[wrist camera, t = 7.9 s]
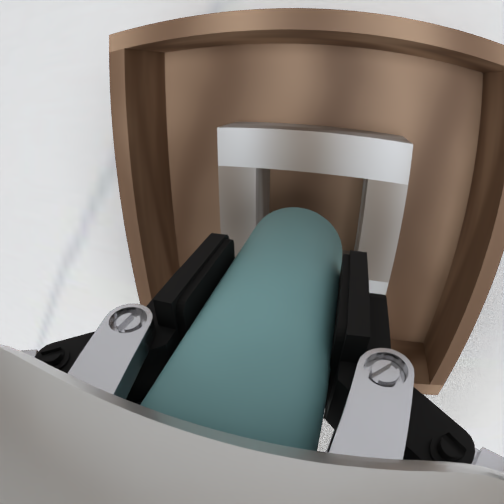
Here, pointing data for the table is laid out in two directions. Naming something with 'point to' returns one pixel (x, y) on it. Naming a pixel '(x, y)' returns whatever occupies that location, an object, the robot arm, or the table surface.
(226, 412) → the peg
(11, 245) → the table surface
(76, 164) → the table surface
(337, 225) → the box
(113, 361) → the robot arm
